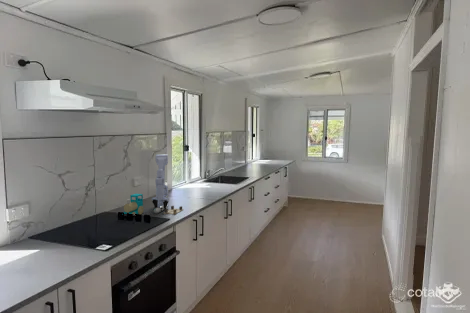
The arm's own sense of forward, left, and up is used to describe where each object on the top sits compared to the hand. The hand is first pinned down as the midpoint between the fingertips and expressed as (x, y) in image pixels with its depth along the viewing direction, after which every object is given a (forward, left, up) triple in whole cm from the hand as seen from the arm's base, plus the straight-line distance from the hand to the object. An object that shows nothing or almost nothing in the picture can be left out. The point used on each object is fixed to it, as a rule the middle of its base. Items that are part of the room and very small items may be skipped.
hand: (160, 209), depth 244 cm
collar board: (+10, +2, -1) cm, 11 cm away
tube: (0, 0, -1) cm, 1 cm away
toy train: (-14, -16, -2) cm, 22 cm away
